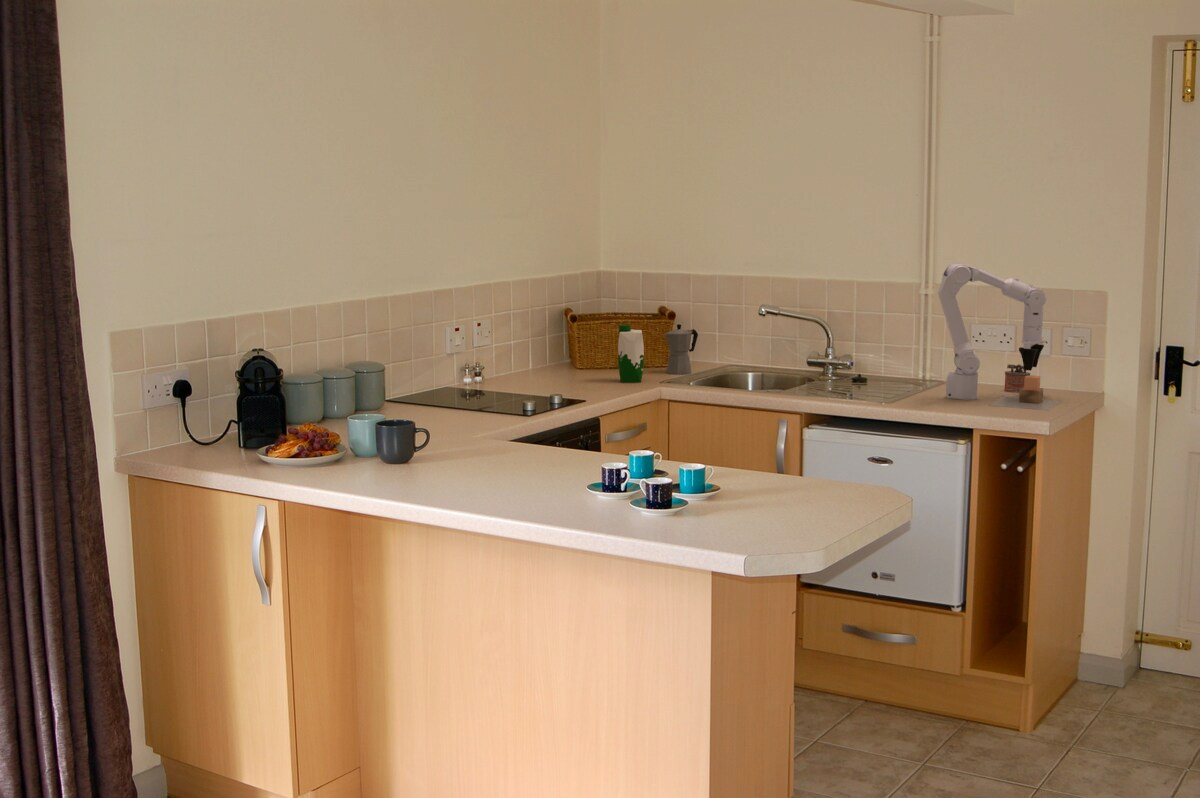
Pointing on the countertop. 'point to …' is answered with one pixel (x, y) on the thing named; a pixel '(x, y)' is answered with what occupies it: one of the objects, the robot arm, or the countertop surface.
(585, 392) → the countertop surface
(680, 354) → the coffeepot
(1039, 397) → the base brick
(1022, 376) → the lighter
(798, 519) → the countertop surface
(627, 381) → the milk carton
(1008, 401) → the baseplate
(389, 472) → the countertop surface
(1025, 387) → the top brick
